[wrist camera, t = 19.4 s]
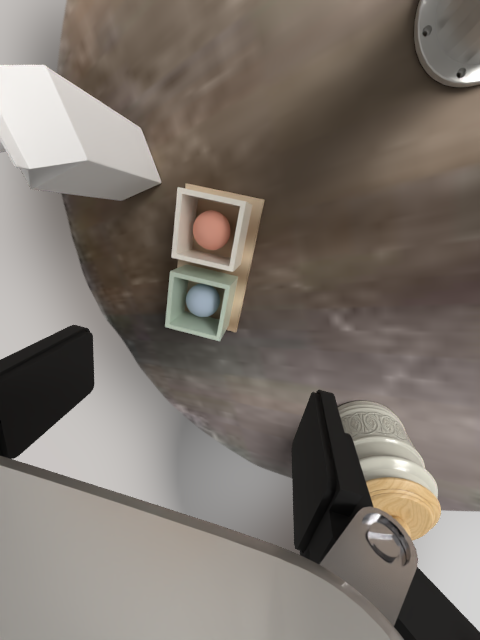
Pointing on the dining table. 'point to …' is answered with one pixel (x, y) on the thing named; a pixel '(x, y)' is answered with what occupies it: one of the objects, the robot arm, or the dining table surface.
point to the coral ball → (211, 230)
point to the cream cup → (184, 234)
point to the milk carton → (70, 137)
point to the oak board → (229, 246)
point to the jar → (392, 467)
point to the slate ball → (202, 300)
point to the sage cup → (177, 301)
